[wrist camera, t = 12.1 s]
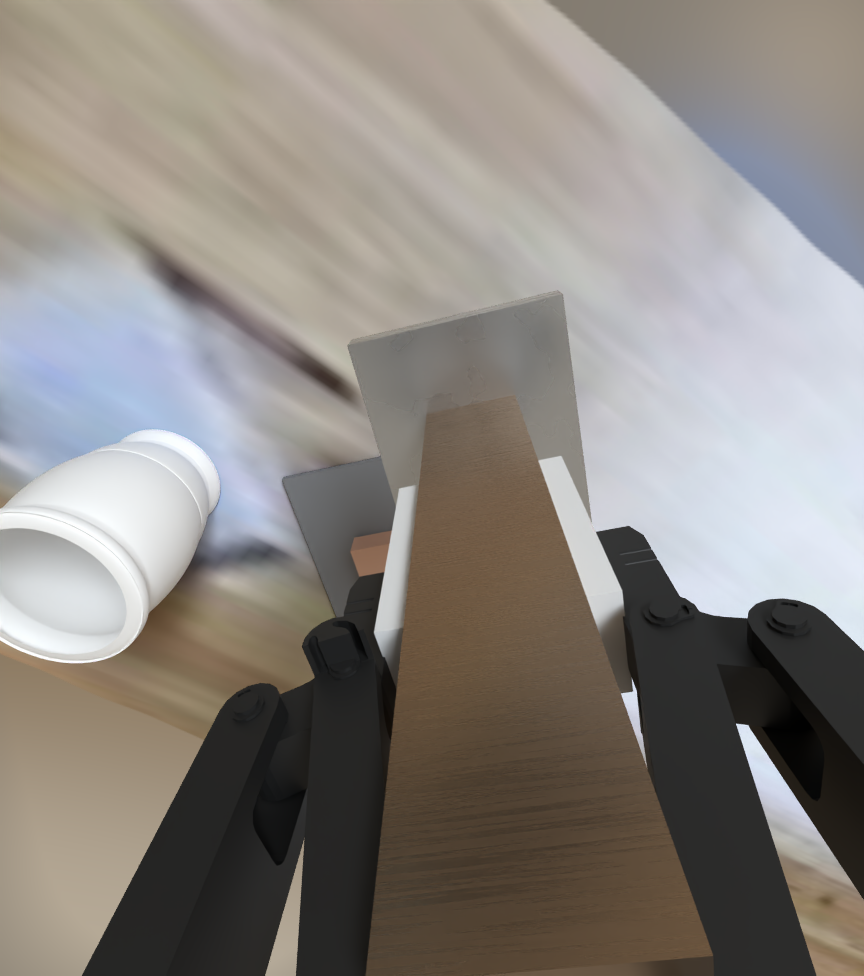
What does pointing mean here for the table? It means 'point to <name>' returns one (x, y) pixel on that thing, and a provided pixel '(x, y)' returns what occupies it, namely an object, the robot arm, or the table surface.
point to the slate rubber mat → (340, 518)
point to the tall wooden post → (507, 682)
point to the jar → (101, 545)
